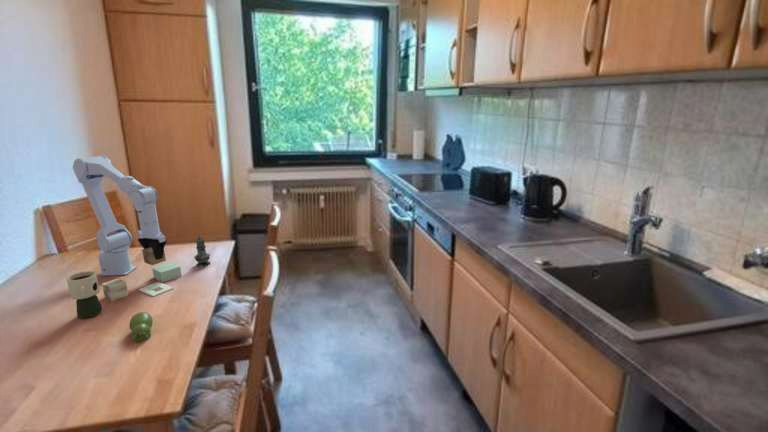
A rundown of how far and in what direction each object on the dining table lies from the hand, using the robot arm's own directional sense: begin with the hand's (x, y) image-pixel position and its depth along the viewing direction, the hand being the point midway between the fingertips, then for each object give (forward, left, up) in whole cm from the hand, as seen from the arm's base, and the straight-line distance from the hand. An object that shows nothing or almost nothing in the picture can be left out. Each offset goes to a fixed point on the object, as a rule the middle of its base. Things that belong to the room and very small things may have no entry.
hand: (155, 257), depth 144 cm
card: (+3, -9, -9) cm, 13 cm away
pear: (+13, -37, -9) cm, 40 cm away
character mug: (-9, -25, -9) cm, 28 cm away
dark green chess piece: (+11, +13, -9) cm, 19 cm away
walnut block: (0, 0, -2) cm, 2 cm away
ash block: (-8, -13, -9) cm, 17 cm away
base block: (+2, +2, -9) cm, 9 cm away
